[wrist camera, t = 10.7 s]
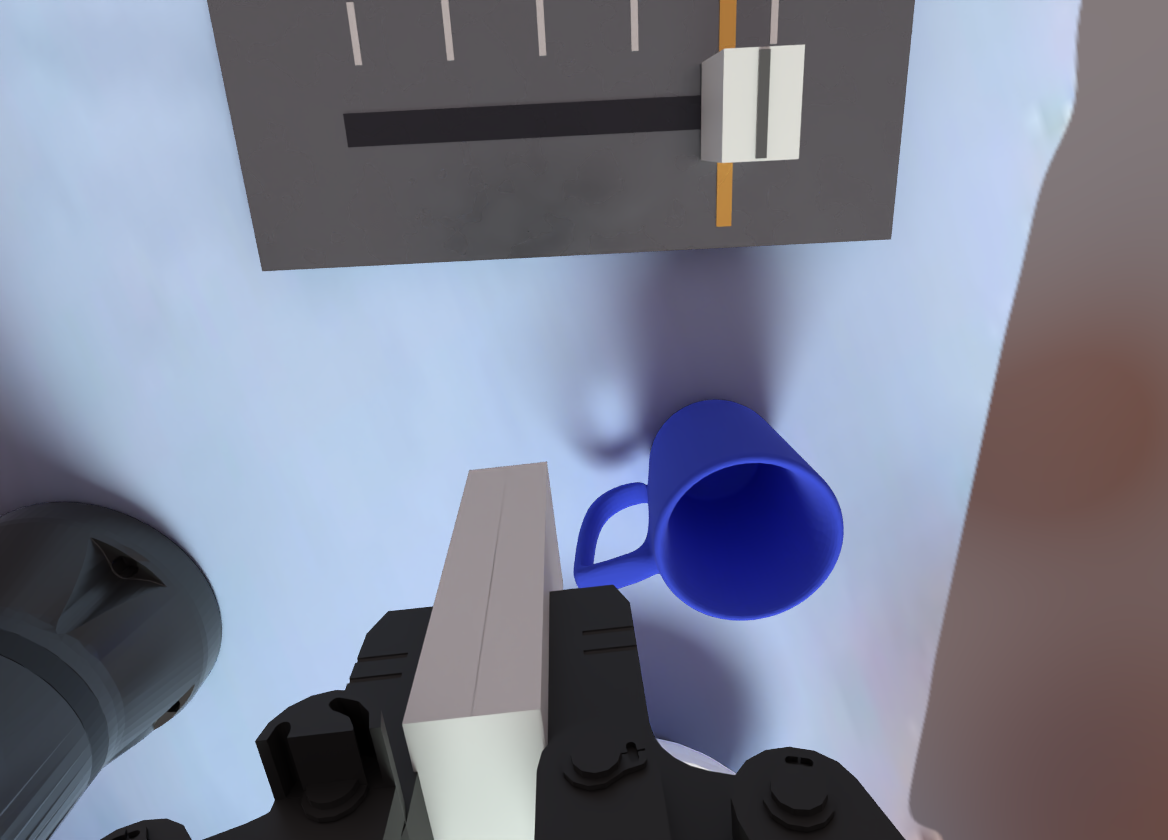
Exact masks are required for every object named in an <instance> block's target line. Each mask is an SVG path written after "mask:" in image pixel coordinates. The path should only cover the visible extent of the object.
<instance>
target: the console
mask: <svg viewBox="0 0 1168 840" xmlns="http://www.w3.org/2000/svg"><path fill="white" fill-rule="evenodd" d="M207 2H208V7H209V12H210V17H211V22H212V27H213V32H214V37H215V42H216V47H217V51H218V56H219V61H220V66H221V71H222V76H223V81H224V86H225V91H226V96H227V101H228V105H229V110H230V115H231V120H232V125H233V130H234V135H235V140H236V145H237V150H238V154H239V159H240V164H241V169H242V174H243V179H244V184H245V189H246V194H247V199H248V203H249V208H250V213H251V218H252V223H253V228H254V233H255V238H256V243H257V248H258V253H259V257H260V262H261V267H262V271H276V270H295V269H315V268H335V267H354V266H374V265H394V264H413V263H433V262H453V261H473V260H492V259H512V258H532V257H551V256H571V255H591V254H610V253H630V252H650V251H670V250H689V249H709V248H729V247H748V246H768V245H788V244H807V243H827V242H847V241H866V240H886V239H891V234H892V224H893V214H894V204H895V194H896V184H897V174H898V164H899V154H900V144H901V134H902V124H903V114H904V104H905V94H906V84H907V74H908V64H909V54H910V44H911V34H912V24H913V14H914V4H915V0H207ZM786 45H805V54H804V72H803V91H802V109H801V128H800V147H799V159H790V160H771V161H751V162H732V163H718V162H711V161H704V160H701V88H702V62H703V61H705V60H707V59H708V58H710V57H711V56H713V55H715V54H716V53H718V52H720V51H721V50H723V49H728V48H748V47H767V46H786Z"/></svg>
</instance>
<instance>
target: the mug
mask: <svg viewBox="0 0 1168 840" xmlns="http://www.w3.org/2000/svg"><path fill="white" fill-rule="evenodd" d="M640 503H648V506H649V526H648V533H647V537H646V540H645V542H644V543H643V544H642V546H641V547H639V548H638V549H637V550H635V551H633V552H631V553H628V554H625V555H622V556H619V557H616V558H613V559H610V560H607V561H604V562H600V563H596V564H593V563H594V555H595V548H596V544H597V540H598V536H599V533H600V531H601V529H602V527H603V525H604V524H605V523H606V521H607V520H608V519H609V518H610V517H611V516H613V515H614V514H615V513H617V512H618V511H620V510H622V509H624V508H627V507H629V506H632V505H636V504H640ZM843 529H844V527H843V518H842V513H841V509H840V506H839V503H838V501H837V499H836V497H835V495H834V493H833V491H832V490H831V488H830V487H829V486H828V484H827V483H826V482H825V481H824V480H823V478H822V477H821V476H820V475H819V474H818V473H817V472H816V471H815V470H814V469H813V468H812V467H811V466H810V465H809V464H808V463H807V462H806V461H805V460H804V459H803V458H802V457H801V456H800V455H799V454H798V453H797V452H796V451H795V450H794V449H793V448H792V447H791V446H790V445H789V444H788V443H787V442H786V441H785V440H784V439H783V438H782V437H781V436H780V435H779V434H778V433H777V432H776V431H775V430H774V429H773V428H772V427H771V426H770V425H769V424H768V423H767V422H766V421H765V420H764V419H763V418H762V417H761V416H759V415H758V414H757V413H756V412H754V411H753V410H751V409H749V408H748V407H746V406H743V405H741V404H738V403H735V402H732V401H727V400H705V401H700V402H696V403H693V404H690V405H688V406H686V407H684V408H682V409H681V410H679V411H677V412H676V413H675V414H673V415H672V416H671V417H670V418H669V419H668V420H667V421H666V422H665V423H664V424H663V426H662V427H661V428H660V430H659V432H658V433H657V435H656V437H655V439H654V442H653V445H652V448H651V452H650V459H649V476H648V485H645V484H644V483H640V482H636V483H629V484H625V485H621V486H619V487H616V488H613V489H611V490H609V491H607V492H606V493H604V494H603V495H601V496H600V497H599V498H597V499H596V500H595V501H594V502H593V504H592V505H591V506H590V508H589V509H588V511H587V513H586V515H585V517H584V520H583V522H582V525H581V529H580V532H579V537H578V542H577V547H576V555H575V562H574V578H575V581H576V584H577V586H578V588H586V587H595V586H604V585H614V586H615V587H616V588H617V589H619V588H622V587H625V586H628V585H631V584H634V583H637V582H639V581H642V580H644V579H646V578H648V577H651V576H653V575H655V574H660V575H661V576H662V578H663V580H664V582H665V583H666V585H667V586H668V587H669V589H670V590H671V591H672V592H673V593H674V594H675V595H676V596H677V597H678V598H679V599H680V600H681V601H683V602H684V603H685V604H687V605H688V606H690V607H691V608H693V609H695V610H697V611H699V612H701V613H704V614H706V615H709V616H712V617H716V618H720V619H726V620H755V619H761V618H766V617H770V616H774V615H777V614H779V613H782V612H784V611H786V610H789V609H791V608H792V607H794V606H796V605H798V604H800V603H801V602H803V601H804V600H805V599H807V598H808V597H809V596H810V595H812V594H813V593H814V592H815V591H816V590H817V589H818V588H819V587H820V586H821V585H822V584H823V583H824V581H825V580H826V579H827V578H828V576H829V574H830V573H831V571H832V570H833V568H834V566H835V564H836V562H837V560H838V557H839V554H840V551H841V547H842V543H843Z"/></svg>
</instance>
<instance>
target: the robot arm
mask: <svg viewBox="0 0 1168 840" xmlns="http://www.w3.org/2000/svg"><path fill="white" fill-rule="evenodd" d="M221 639H222V624H221V617H220V612H219V608H218V605H217V602H216V599H215V597H214V594H213V592H212V590H211V588H210V586H209V584H208V582H207V581H206V579H205V577H204V576H203V574H202V573H201V571H200V570H199V569H198V567H197V566H196V565H195V564H194V562H193V561H192V560H191V559H190V558H189V557H188V556H187V555H186V554H185V553H184V552H183V551H182V550H181V549H180V548H179V547H178V546H177V545H175V544H174V543H173V542H172V541H171V540H169V539H168V538H167V537H165V536H164V535H162V534H161V533H159V532H158V531H156V530H155V529H153V528H152V527H150V526H148V525H146V524H145V523H143V522H141V521H139V520H137V519H134V518H132V517H130V516H128V515H125V514H122V513H120V512H117V511H114V510H110V509H107V508H103V507H99V506H95V505H89V504H83V503H73V502H51V503H42V504H35V505H31V506H27V507H23V508H20V509H17V510H14V511H12V512H9V513H7V514H5V515H3V516H1V517H0V840H50V838H51V837H52V836H53V834H54V833H55V831H56V830H57V829H58V827H59V826H60V825H61V823H62V822H63V821H64V819H65V818H66V816H67V815H68V814H69V812H70V811H71V810H72V808H73V807H74V805H75V804H76V803H77V801H78V800H79V799H80V797H81V796H82V794H83V793H84V792H85V790H86V789H87V788H88V786H89V785H90V784H91V782H92V781H93V780H94V778H95V777H96V776H97V774H98V773H99V772H100V771H101V769H102V768H103V767H105V766H106V765H108V764H109V763H110V762H112V761H113V760H115V759H116V758H117V757H119V756H120V755H122V754H123V753H124V752H126V751H127V750H128V749H130V748H131V747H133V746H134V745H135V744H137V743H138V742H140V741H141V740H142V739H144V738H145V737H146V736H147V735H149V734H150V733H151V732H152V731H153V730H155V729H157V728H158V727H160V726H162V725H163V724H165V723H166V722H167V721H169V720H170V719H172V718H173V717H174V716H175V715H177V714H178V713H179V712H180V711H181V710H182V709H183V708H184V707H185V706H186V705H187V704H188V703H189V702H190V700H191V699H192V698H193V697H194V695H195V694H196V692H197V691H198V689H199V688H200V687H201V685H202V684H203V682H204V681H205V679H206V678H207V676H208V675H209V673H210V672H211V670H212V668H213V667H214V664H215V662H216V660H217V657H218V654H219V650H220V646H221ZM357 659H358V662H357V663H355V666H354V668H353V671H352V673H351V676H350V683H349V684H347V686H346V689H345V690H334V691H330V692H326V693H322V694H317V695H313V696H310V697H308V698H306V699H304V700H302V701H300V702H298V703H296V704H294V705H292V706H290V707H288V708H287V709H286V710H284V711H283V712H282V713H280V714H279V715H278V716H277V717H275V718H274V719H273V720H272V721H270V722H269V723H268V724H267V726H266V727H265V729H264V730H263V731H262V733H261V734H260V735H259V737H258V738H257V739H256V741H255V742H256V745H257V748H258V751H259V754H260V757H261V760H262V763H263V766H264V769H265V772H266V775H267V778H268V781H269V784H270V787H271V790H272V793H273V796H274V798H275V801H274V804H273V806H272V808H271V811H270V812H269V813H267V814H265V815H263V816H261V817H259V818H257V819H255V820H253V821H250V822H248V823H246V824H244V825H241V826H238V827H236V828H233V829H230V830H228V831H225V832H222V833H219V834H217V835H214V836H211V837H209V838H206V839H203V840H905V839H904V837H903V836H902V835H901V834H900V832H899V831H898V830H897V829H896V827H895V826H894V825H893V824H892V822H891V821H890V820H889V819H888V817H887V816H886V815H885V814H884V812H883V811H882V810H881V809H880V807H879V806H878V805H877V804H876V802H875V801H874V800H873V799H872V797H871V796H870V795H869V794H868V792H867V791H866V790H865V789H864V787H863V786H862V785H861V784H860V782H859V781H858V780H857V779H856V778H855V777H854V776H853V775H852V774H851V773H850V772H849V771H847V770H846V769H845V768H844V767H843V766H842V765H841V764H840V763H839V762H837V761H835V760H833V759H831V758H828V757H826V756H824V755H822V754H820V753H818V752H816V751H812V750H806V749H800V748H793V747H784V748H777V749H770V750H765V751H763V752H761V753H759V754H757V755H756V756H754V757H752V758H750V759H748V760H746V761H745V763H744V764H743V765H742V767H741V768H740V769H739V771H738V772H737V773H736V775H731V774H726V773H720V772H714V771H708V770H705V769H701V768H697V767H694V766H690V765H688V764H686V763H684V762H682V761H680V760H678V759H676V758H674V757H673V756H672V755H671V754H670V753H668V752H667V751H666V750H665V749H664V748H662V747H661V745H660V744H659V742H658V741H657V739H656V738H655V737H654V735H653V732H652V729H651V726H650V723H649V718H648V712H647V706H646V700H645V694H644V688H643V682H642V676H641V669H640V663H639V657H638V651H637V645H636V639H635V633H634V627H633V620H632V614H631V608H630V603H629V601H628V600H627V599H626V598H625V597H624V596H623V595H622V594H621V593H620V592H619V590H618V589H617V588H616V587H615V586H614V585H604V586H595V587H586V588H576V589H567V590H563V580H562V572H561V565H560V557H559V550H558V542H557V535H556V527H555V520H554V512H553V504H552V497H551V489H550V482H549V474H548V467H547V462H540V463H531V464H522V465H513V466H504V467H495V468H486V469H476V470H469V473H468V477H467V481H466V485H465V488H464V492H463V496H462V500H461V503H460V507H459V511H458V515H457V519H456V522H455V526H454V530H453V534H452V537H451V541H450V545H449V549H448V553H447V556H446V560H445V564H444V568H443V571H442V575H441V579H440V583H439V587H438V590H437V594H436V598H435V602H434V605H433V607H424V608H414V609H405V610H396V611H388V612H387V613H386V614H385V615H384V616H383V617H382V618H381V619H380V620H379V621H378V622H377V624H376V625H375V626H374V627H373V628H372V629H371V630H370V631H369V632H368V633H367V634H366V637H365V640H364V642H363V645H362V647H361V650H360V653H359V655H358V658H357ZM101 840H191V838H190V836H189V834H188V832H187V831H186V829H185V827H184V825H182V824H179V823H177V822H174V821H172V820H169V819H154V820H143V821H140V822H137V823H134V824H132V825H129V826H126V827H123V828H120V829H118V830H115V831H114V832H112V833H110V834H109V835H107V836H106V837H104V838H102V839H101Z"/></svg>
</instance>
